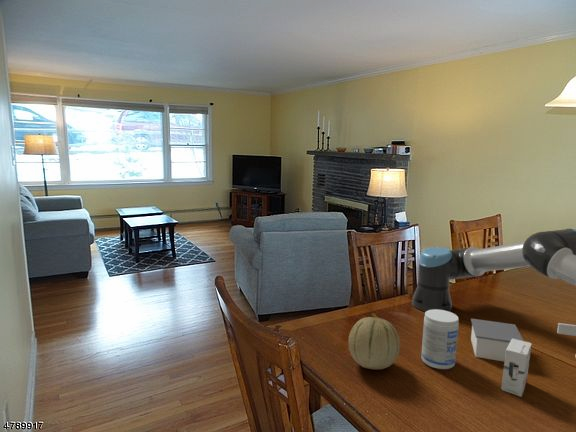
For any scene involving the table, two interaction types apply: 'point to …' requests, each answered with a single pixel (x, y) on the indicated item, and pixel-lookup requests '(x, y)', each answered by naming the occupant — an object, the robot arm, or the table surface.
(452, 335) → the supplement tub
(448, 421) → the table surface
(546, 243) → the robot arm
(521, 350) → the ink box
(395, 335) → the cantaloupe
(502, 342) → the podium
